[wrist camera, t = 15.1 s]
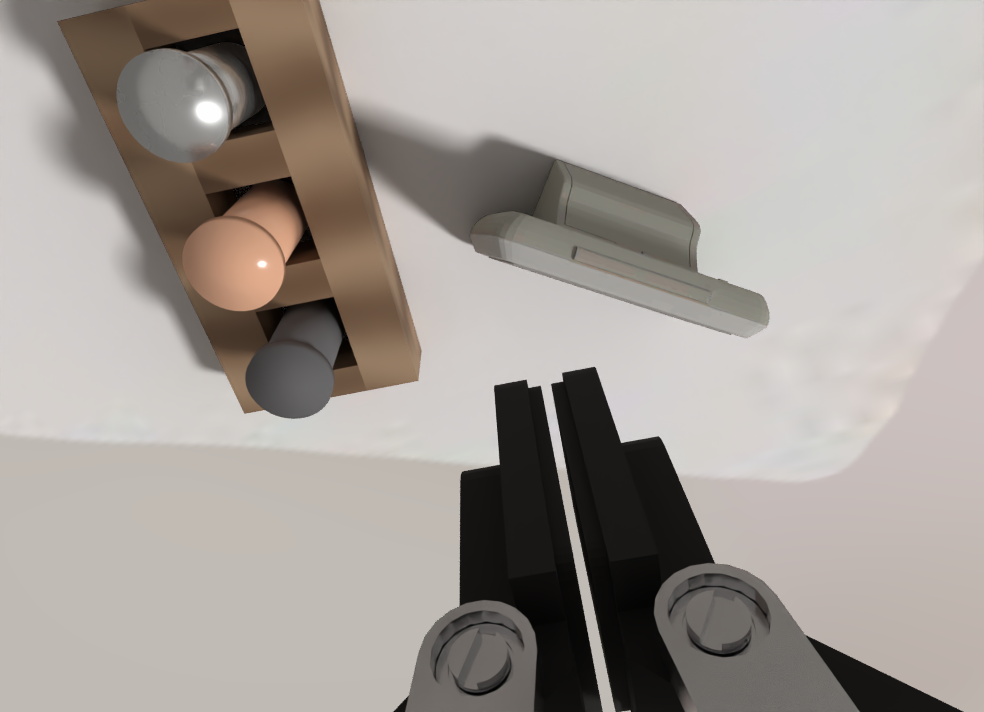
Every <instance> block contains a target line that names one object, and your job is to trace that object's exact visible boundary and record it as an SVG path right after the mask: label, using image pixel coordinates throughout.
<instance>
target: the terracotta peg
mask: <svg viewBox="0 0 984 712" xmlns="http://www.w3.org/2000/svg"><path fill="white" fill-rule="evenodd" d="M307 228H308V223H307V220H306V217H305V214H304V211H303V209H302V206H301V203H300V200H299V197H298V194H297V192H296V189H295V186H293V185H292V184H290V183H288V182H285V181H283V180H279V179H275V180H270V181H266V182H261V183H256V184H254V185H253V186H252V187H251V188H250V189H249V190H248V191H247V192H246V193H245V194H244V195H243V196H242V197H241V198H240V199H239V200H238V201H237V202H236V203H235V204H234V205H233V206H232V207H231V208H230V209H229V210H228V211H227V212H226V213H225V214H224V215H223V216H219V217H215V218H212V219H210V220H207V221H206V222H204V223H203V224H201V225H200V226H199V227H198V228H197V229H196V230H195V231H194V232H193V233H192V234H191V235H190V236H189V238H188V239H187V241H186V243H185V246H184V249H183V254H182V261H183V268H184V271H185V274H186V276H187V278H188V280H189V282H190V284H191V285H192V286H193V288H194V289H195V290H196V291H197V292H198V293H199V294H200V295H201V296H202V297H203V298H205V299H206V300H207V301H209V302H211V303H212V304H214V305H216V306H219V307H221V308H224V309H228V310H232V311H249V310H254V309H257V308H260V307H262V306H264V305H265V304H267V303H268V302H269V301H271V300H272V299H273V297H274V296H275V295H276V293H277V292H278V290H279V289H280V287H281V285H282V283H283V281H284V277H285V272H286V262H287V260H288V258H289V257H290V255H291V254H292V252H293V250H294V249H295V247H296V246H297V244H298V242H299V241H300V239H301V238H302V236H303V234H304V233H305V231H306V229H307Z"/></svg>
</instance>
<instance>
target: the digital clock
mask: <svg viewBox="0 0 984 712" xmlns="http://www.w3.org/2000/svg"><path fill="white" fill-rule="evenodd" d="M700 232H701V230H700V226H699V224H698V222H697V221H696V220H695V219H694V218H693V217H692V216H691V215H690V214H689V213H688V212H687V211H686V209H685V208H684V207H683V206H682V205H681V204H678V203H675V202H673V201H670V200H667V199H664V198H662V197H659V196H656V195H653V194H650V193H648V192H645V191H642V190H639V189H637V188H634V187H631V186H628V185H626V184H623V183H620V182H617V181H615V180H612V179H609V178H606V177H604V176H601V175H598V174H595V173H593V172H590V171H587V170H584V169H582V168H579V167H576V166H573V165H571V164H568V163H565V162H562V161H560V160H555V162H554V164H553V166H552V168H551V171H550V173H549V176H548V178H547V181H546V183H545V186H544V188H543V191H542V193H541V196H540V198H539V201H538V203H537V206H536V208H535V211H534V213H533V216H530V215H526V214H523V213H520V212H516V211H509V212H502V213H495V214H489V215H486V216H485V217H483V218H481V219H480V220H479V221H478V222H477V223H475V225H474V226H473V228H472V230H471V232H470V238H471V241H472V244H473V246H474V249H475V251H476V252H477V253H480V254H483V255H486V256H489V258H492V259H495V260H498V261H501V262H504V263H507V264H510V265H513V266H516V267H519V268H522V269H526V270H529V271H532V272H535V273H538V274H541V275H544V276H547V277H550V278H553V279H557V280H560V281H563V282H566V283H569V284H572V285H575V286H578V287H581V288H584V289H588V290H591V291H594V292H597V293H600V294H603V295H606V296H609V297H612V298H615V299H618V300H622V301H625V302H628V303H631V304H634V305H637V306H640V307H643V308H646V309H649V310H653V311H656V312H659V313H662V314H665V315H668V316H671V317H674V318H678V319H681V320H684V321H687V322H690V323H693V324H697V325H700V326H703V327H706V328H710V329H713V330H716V331H719V332H723V333H726V334H729V335H731V334H734V335H737V336H740V337H744V338H749V337H751V336H752V335H754V334H756V333H758V332H760V331H761V330H763V329H765V328H766V327H767V325H768V323H769V310H768V306H767V303H766V301H765V299H764V297H763V296H762V295H760V294H758V293H755V292H752V291H750V290H747V289H744V288H741V287H738V286H735V285H732V284H729V283H728V282H727V281H724V280H721V279H718V280H717V279H715V278H712V277H709V276H706V275H703V274H700V273H698V270H697V244H698V240H699V236H700Z"/></svg>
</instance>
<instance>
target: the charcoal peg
mask: <svg viewBox="0 0 984 712" xmlns="http://www.w3.org/2000/svg"><path fill="white" fill-rule="evenodd" d="M344 332H345V327H344V325H343V322H342V319H341V316H340V313H339V310H338V308H337V305H336V302H335V299H334V297H330V298H325V299H320V300H315V301H310V302H305V303H300V304H295V305H290V306H288V307H287V309H286V311H285V313H284V315H283V317H282V319H281V321H280V323H279V324H278V326H277V328H276V330H275V332H274V334H273V336H272V338H271V339H270V341H269V343H268V344H266V345H264V346H262V347H261V348H260V349H259V350H258V351H257V352H256V353H255V354H254V356H253V357H252V359H251V361H250V363H249V365H248V367H247V370H246V374H245V382H246V387H247V389H248V392H249V394H250V396H251V397H252V398H253V400H254V401H255V402H256V403H257V404H258V405H259V406H260V407H261V408H263V409H264V410H266V411H268V412H269V413H271V414H274V415H276V416H280V417H284V418H292V419H295V418H304V417H308V416H311V415H314V414H315V413H317V412H319V411H320V410H322V409H323V408H324V407H325V405H326V404H327V403H328V401H329V399H330V397H331V394H332V391H333V387H334V381H335V377H334V372H333V365H334V362H335V359H336V356H337V353H338V350H339V347H340V344H341V341H342V338H343V335H344Z"/></svg>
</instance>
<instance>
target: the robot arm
mask: <svg viewBox="0 0 984 712" xmlns="http://www.w3.org/2000/svg"><path fill="white" fill-rule="evenodd" d="M562 375H563V382H559V383H553V384H551V386H552V392H553V397H554V403H555V408H556V414H557V419H558V425H559V430H560V436H561V441H562V447H563V452H564V458H565V463H566V469H567V474H568V480H569V485H570V491H571V496H572V502H573V507H574V513H575V517H576V523H577V527H578V532H579V537H580V542H581V547H582V552H583V557H584V561H585V566H586V571H587V576H588V581H589V585H590V591H591V595H592V600H593V605H594V610H595V614H596V620H597V624H598V629H599V634H600V639H601V643H602V649H603V653H604V658H605V663H606V668H607V673H608V677H609V682H610V687H611V692H612V697H613V702H614V706H615V711H616V712H621V711H628V710H631V712H963V711H960V710H959V709H957V708H954V707H952V706H950V705H948V704H946V703H944V702H942V701H940V700H938V699H936V698H934V697H932V696H930V695H928V694H926V693H924V692H922V691H920V690H917V689H915V688H913V687H911V686H909V685H907V684H905V683H903V682H901V681H899V680H897V679H895V678H893V677H891V676H888V675H887V674H884V673H882V672H880V671H878V670H876V669H874V668H872V667H870V666H868V665H866V664H864V663H862V662H860V661H858V660H856V659H853V658H852V657H850V656H847V655H845V654H843V653H841V652H839V651H837V650H835V649H833V648H831V647H829V646H827V645H825V644H823V643H821V642H819V641H817V640H815V639H812V638H810V637H808V636H806V635H805V634H804V633H803V631H802V630H801V629H800V627H799V626H798V625H797V623H796V622H795V620H794V619H793V618H792V616H791V615H790V613H789V612H788V611H787V609H786V608H785V606H784V605H783V603H782V602H781V601H780V599H779V598H778V596H777V595H776V594H775V593H774V592H773V591H772V590H771V589H770V588H769V587H768V586H767V585H766V584H765V582H763V581H762V580H761V579H759V578H757V577H756V576H754V575H752V574H751V573H749V572H748V571H745V570H742V569H739V568H736V567H733V566H730V565H724V564H715V562H714V560H713V558H712V555H711V553H710V551H709V548H708V546H707V544H706V541H705V539H704V537H703V534H702V532H701V530H700V527H699V525H698V523H697V520H696V518H695V516H694V513H693V511H692V509H691V507H690V504H689V502H688V499H687V497H686V495H685V492H684V490H683V488H682V485H681V483H680V481H679V478H678V476H677V474H676V471H675V469H674V467H673V464H672V462H671V460H670V457H669V455H668V453H667V450H666V448H665V446H664V444H663V442H662V440H661V438H660V437H659V436H658V437H653V438H647V439H641V440H636V441H630V442H625V443H621V441H620V438H619V435H618V432H617V430H616V427H615V424H614V421H613V418H612V415H611V412H610V409H609V406H608V403H607V400H606V397H605V394H604V391H603V388H602V385H601V382H600V379H599V376H598V373H597V370H596V368H595V367H591V368H586V369H581V370H575V371H570V372H565V373H562ZM494 392H495V405H496V419H497V432H498V446H499V459H500V465H496V466H491V467H485V468H480V469H474V470H468V471H464V472H462V474H461V481H460V488H461V489H460V606H459V607H457V608H455V609H452V610H450V611H449V612H448V613H446V614H445V615H444V616H443V617H441V618H440V619H439V620H437V621H436V622H435V624H434V625H433V626H432V628H431V629H430V630H429V631H428V633H427V634H426V636H425V637H424V640H423V643H422V645H421V648H420V650H419V653H418V657H417V662H416V666H415V671H414V675H413V679H412V684H411V689H410V693H409V696H408V697H407V698H406V699H405V700H404V701H403V702H402V703H401V704H400V705H399V706H398V708H397V709H396V710H395V711H394V712H603V711H602V706H601V700H600V695H599V690H598V684H597V679H596V674H595V669H594V664H593V658H592V653H591V647H590V642H589V637H588V632H587V626H586V621H585V616H584V610H583V605H582V600H581V595H580V590H579V584H578V579H577V573H576V568H575V563H574V558H573V552H572V547H571V542H570V536H569V531H568V526H567V521H566V515H565V510H564V505H563V500H562V494H561V489H560V484H559V479H558V473H557V468H556V463H555V458H554V452H553V447H552V442H551V437H550V432H549V426H548V421H547V416H546V411H545V405H544V400H543V395H542V390H541V386H537V387H532V388H528V384H527V380H522V381H517V382H511V383H506V384H501V385H495V386H494Z"/></svg>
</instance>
